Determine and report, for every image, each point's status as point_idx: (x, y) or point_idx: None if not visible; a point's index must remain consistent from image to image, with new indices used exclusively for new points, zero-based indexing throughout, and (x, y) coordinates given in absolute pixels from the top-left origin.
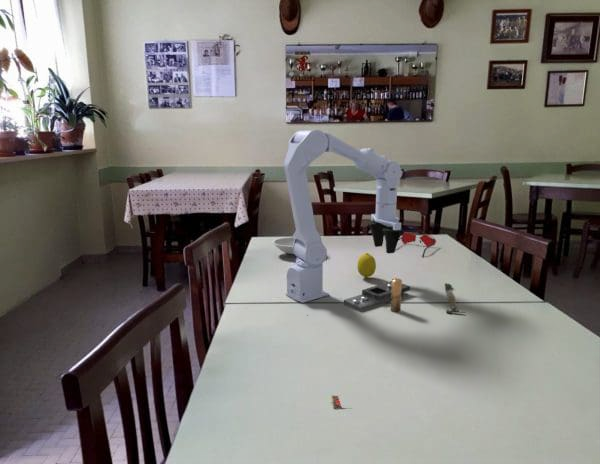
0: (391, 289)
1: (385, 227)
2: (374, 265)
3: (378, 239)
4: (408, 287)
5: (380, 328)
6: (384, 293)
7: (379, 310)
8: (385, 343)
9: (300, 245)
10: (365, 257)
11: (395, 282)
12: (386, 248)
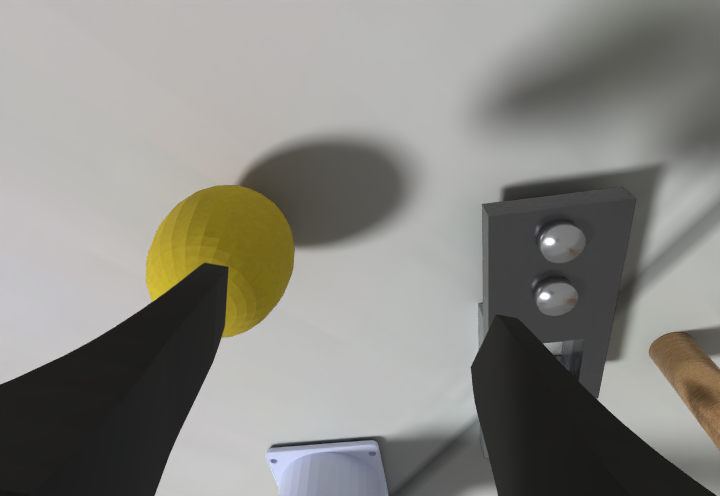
0: (714, 443)
1: (94, 440)
2: (282, 244)
3: (195, 363)
4: (630, 209)
5: (710, 451)
6: (593, 364)
7: (617, 387)
8: None
9: None
10: (235, 331)
11: None
12: (486, 416)
